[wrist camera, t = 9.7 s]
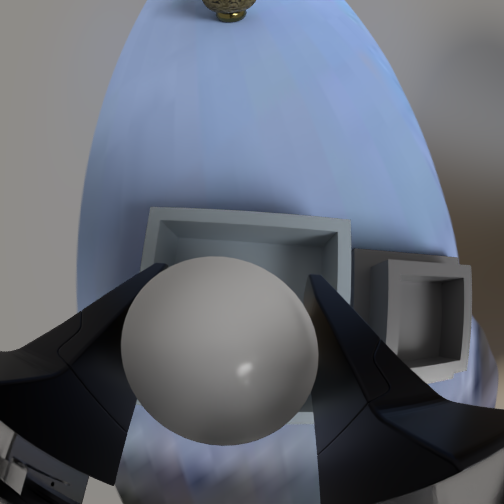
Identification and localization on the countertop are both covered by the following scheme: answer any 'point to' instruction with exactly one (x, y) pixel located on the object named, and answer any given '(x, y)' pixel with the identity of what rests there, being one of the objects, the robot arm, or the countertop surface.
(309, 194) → the countertop surface
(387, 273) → the tray
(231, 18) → the cup
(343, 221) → the tray
